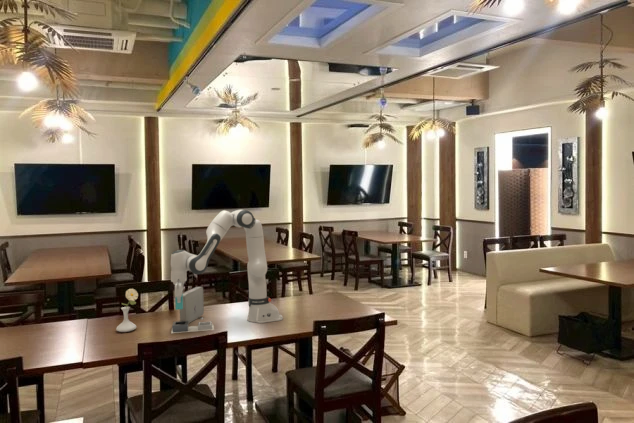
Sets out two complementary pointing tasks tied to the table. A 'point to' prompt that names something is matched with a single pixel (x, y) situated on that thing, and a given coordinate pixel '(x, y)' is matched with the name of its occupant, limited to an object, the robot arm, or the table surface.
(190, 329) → the board
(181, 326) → the port
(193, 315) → the network device
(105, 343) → the table surface
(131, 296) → the flower in vase
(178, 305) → the plug
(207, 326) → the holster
